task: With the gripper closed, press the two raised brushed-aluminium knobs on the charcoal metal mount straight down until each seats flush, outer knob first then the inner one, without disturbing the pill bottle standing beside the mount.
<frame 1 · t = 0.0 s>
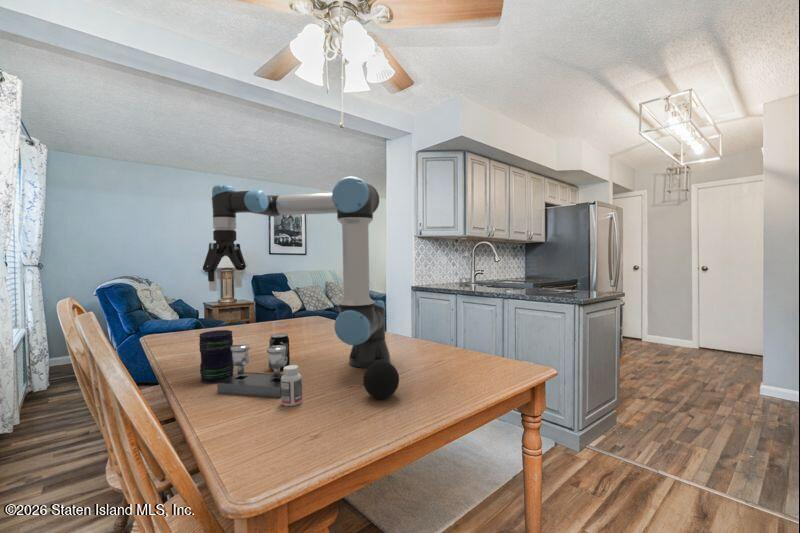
hand: (226, 289, 135), 28 cm above the table, fingers open, 13 cm apart
knob B: (240, 359, 114), point 9 cm above the table, slide at 4.0 cm
pill bottle: (291, 403, 102), on the table
speaker: (381, 398, 105), on the table
knob A: (276, 361, 112), point 9 cm above the table, slide at 4.0 cm
storage jar: (217, 379, 123), on the table
mount: (259, 388, 113), on the table
beverage can: (280, 369, 133), on the table
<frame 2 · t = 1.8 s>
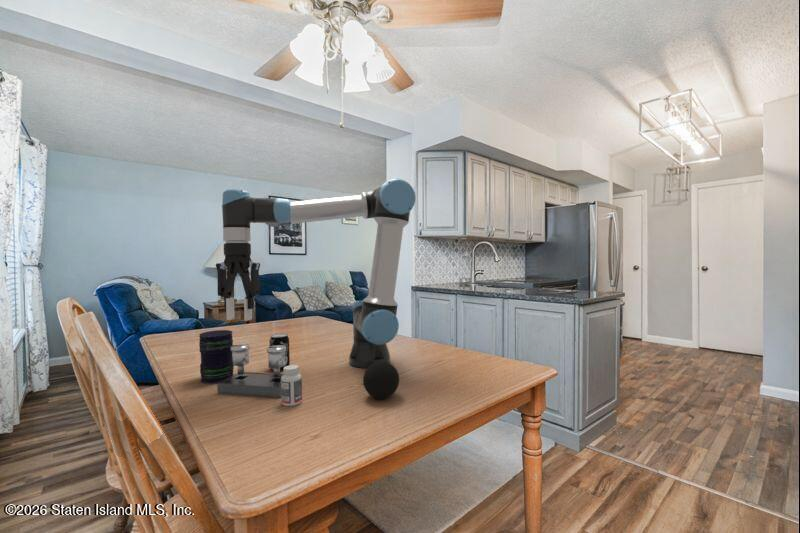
hand: (239, 319, 114), 21 cm above the table, fingers open, 5 cm apart
nothing on the table moved.
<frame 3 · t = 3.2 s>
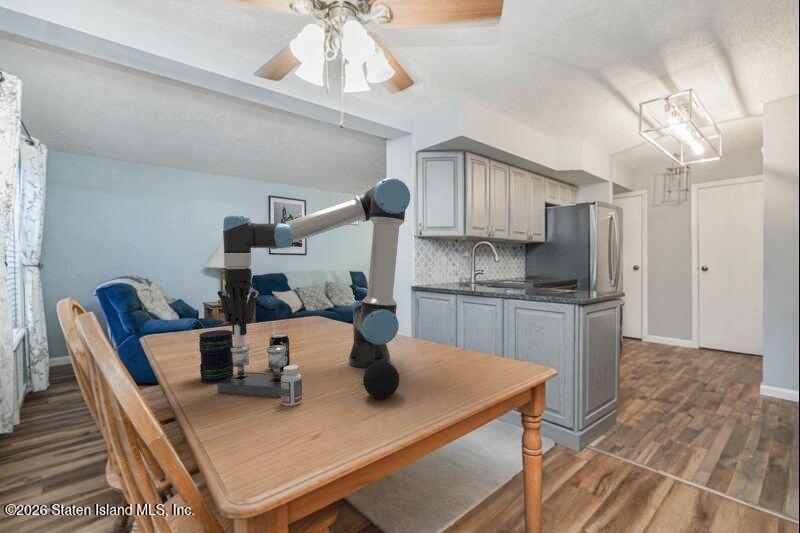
hand: (239, 345, 114), 13 cm above the table, fingers closed
knob B: (240, 360, 114), point 8 cm above the table, slide at 3.7 cm, touching gripper
everything else where it was.
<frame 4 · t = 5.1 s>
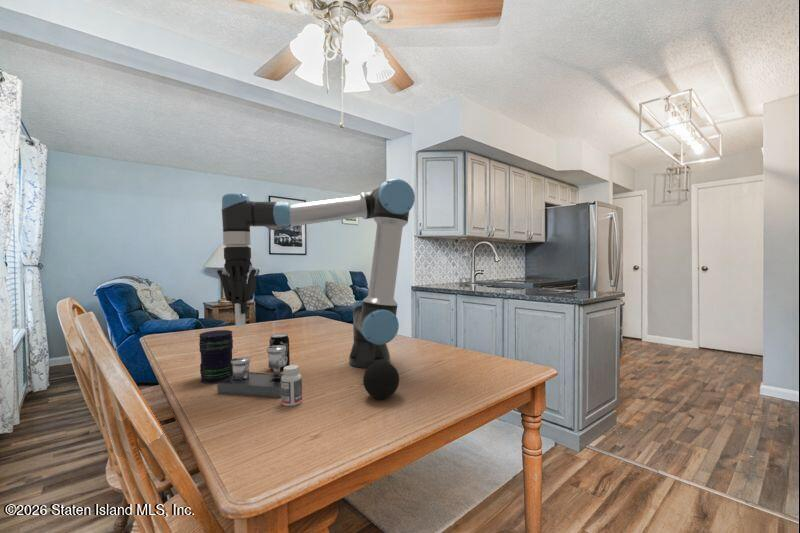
hand: (240, 324, 114), 19 cm above the table, fingers closed
knob B: (241, 372, 114), point 4 cm above the table, slide at -0.1 cm
everything else where it was.
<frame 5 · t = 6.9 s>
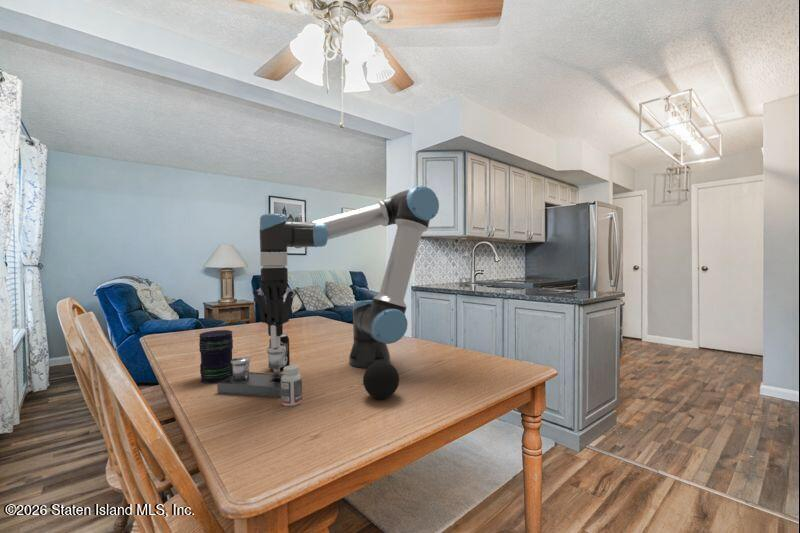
hand: (275, 346, 111), 13 cm above the table, fingers closed
knob A: (276, 361, 112), point 8 cm above the table, slide at 3.9 cm, touching gripper
everything else where it was.
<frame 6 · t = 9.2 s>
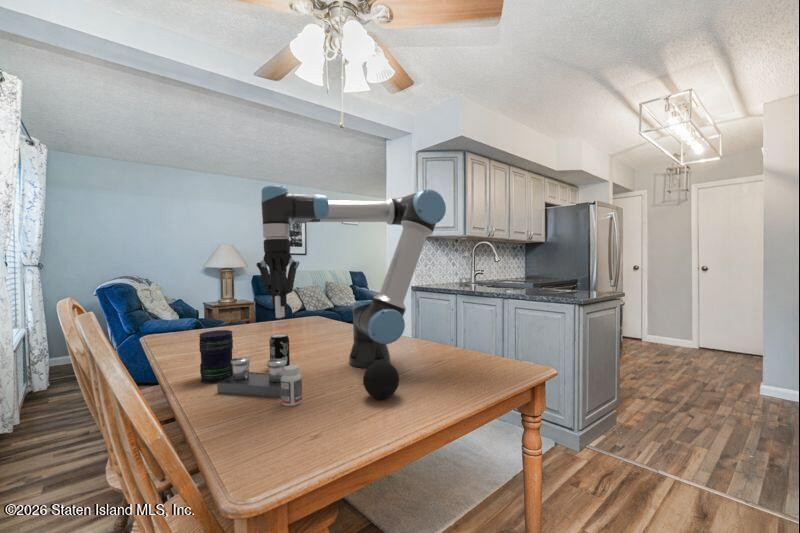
hand: (280, 317, 114), 21 cm above the table, fingers closed
knob A: (276, 375, 112), point 4 cm above the table, slide at -0.1 cm
everything else where it was.
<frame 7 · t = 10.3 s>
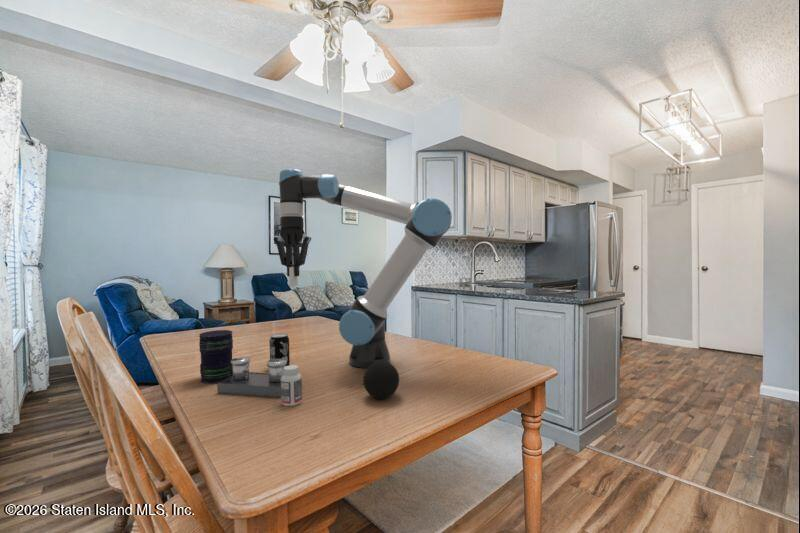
hand: (293, 286, 128), 29 cm above the table, fingers closed
nothing on the table moved.
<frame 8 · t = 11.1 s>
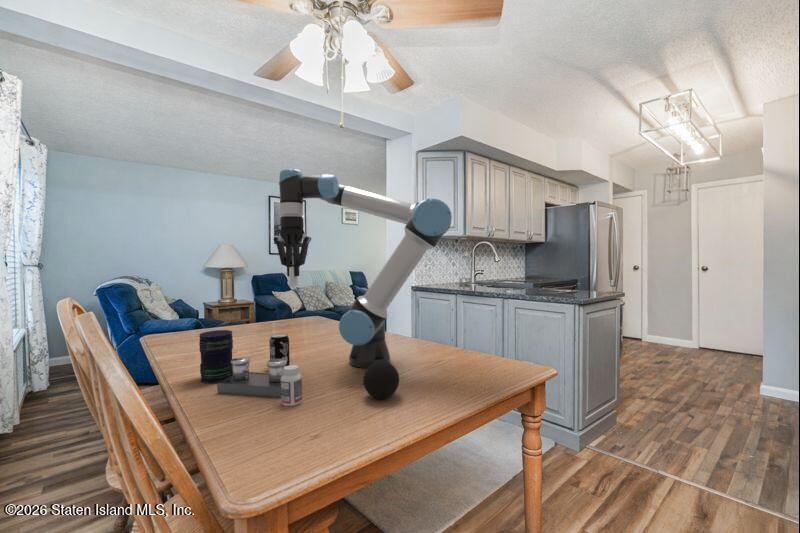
hand: (293, 286, 128), 29 cm above the table, fingers closed
nothing on the table moved.
at the end: knob B slide at -0.1 cm; knob A slide at -0.1 cm; pill bottle tilted 0° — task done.
